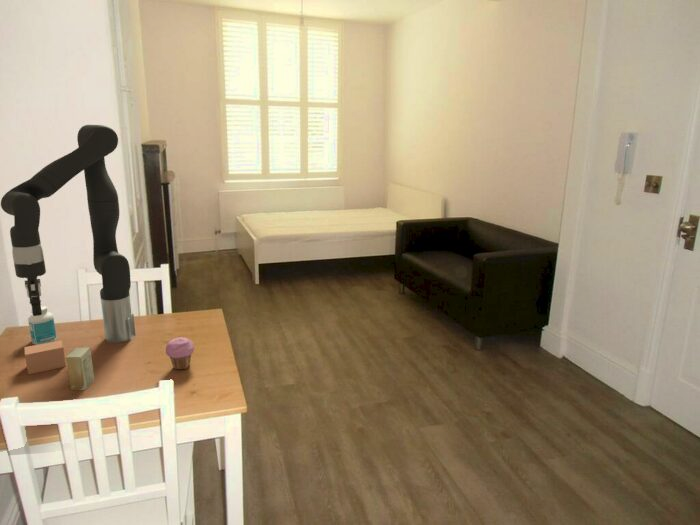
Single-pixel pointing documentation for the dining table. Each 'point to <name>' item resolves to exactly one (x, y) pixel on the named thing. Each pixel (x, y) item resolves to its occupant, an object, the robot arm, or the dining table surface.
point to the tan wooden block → (45, 357)
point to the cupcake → (180, 352)
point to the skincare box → (80, 368)
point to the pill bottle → (42, 327)
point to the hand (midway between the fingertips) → (37, 310)
